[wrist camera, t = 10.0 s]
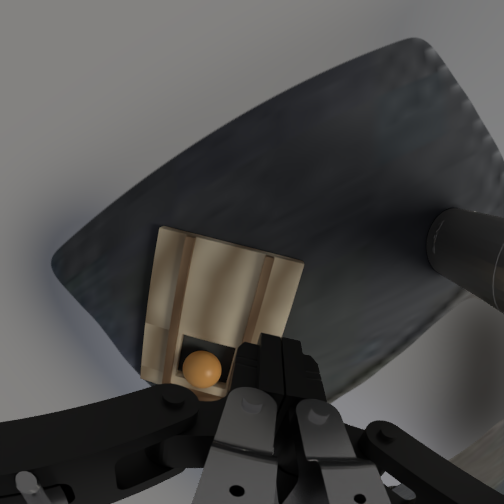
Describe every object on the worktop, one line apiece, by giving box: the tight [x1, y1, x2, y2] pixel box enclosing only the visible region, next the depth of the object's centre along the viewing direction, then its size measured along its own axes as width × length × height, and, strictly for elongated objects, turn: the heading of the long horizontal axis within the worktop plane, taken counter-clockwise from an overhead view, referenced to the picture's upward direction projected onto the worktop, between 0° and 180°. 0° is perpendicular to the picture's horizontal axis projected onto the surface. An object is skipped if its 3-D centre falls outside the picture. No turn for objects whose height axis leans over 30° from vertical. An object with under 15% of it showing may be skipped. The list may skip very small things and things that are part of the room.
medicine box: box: [392, 483, 416, 500], centre depth 41 cm, size 8×4×9 cm, turn 139°
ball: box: [183, 351, 222, 388], centre depth 37 cm, size 5×5×5 cm
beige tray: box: [141, 226, 304, 401], centre depth 37 cm, size 17×22×4 cm
